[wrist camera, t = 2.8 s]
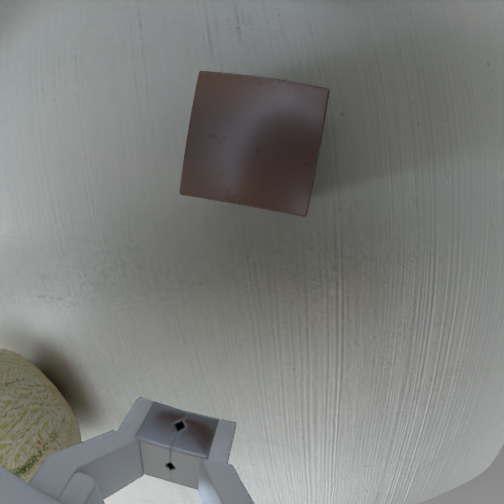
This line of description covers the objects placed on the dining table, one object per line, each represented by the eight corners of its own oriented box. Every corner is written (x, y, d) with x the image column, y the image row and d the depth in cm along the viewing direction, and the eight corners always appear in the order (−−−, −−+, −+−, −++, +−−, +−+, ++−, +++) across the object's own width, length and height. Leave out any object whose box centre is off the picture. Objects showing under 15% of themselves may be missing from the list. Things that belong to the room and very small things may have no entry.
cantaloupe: (128, 396, 22) (37, 543, 8) (90, 458, 27) (32, 553, 12) (-1, 286, 21) (-124, 366, 7) (-8, 376, 26) (-83, 447, 11)
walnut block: (224, 93, 16) (198, 70, 11) (318, 108, 15) (330, 88, 11) (209, 184, 17) (178, 194, 12) (301, 200, 17) (306, 217, 12)
